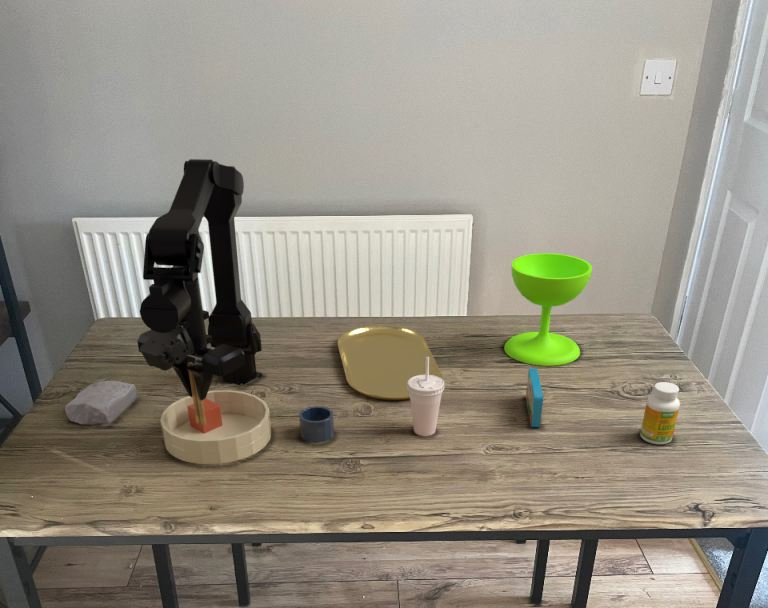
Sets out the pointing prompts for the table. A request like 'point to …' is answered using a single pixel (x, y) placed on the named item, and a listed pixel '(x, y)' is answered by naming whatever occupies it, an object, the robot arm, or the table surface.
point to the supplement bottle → (661, 414)
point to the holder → (316, 424)
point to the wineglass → (547, 305)
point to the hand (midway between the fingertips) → (197, 397)
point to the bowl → (218, 429)
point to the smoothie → (425, 401)
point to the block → (210, 413)
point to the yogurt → (534, 397)
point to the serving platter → (384, 360)
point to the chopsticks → (196, 399)
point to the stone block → (101, 402)
